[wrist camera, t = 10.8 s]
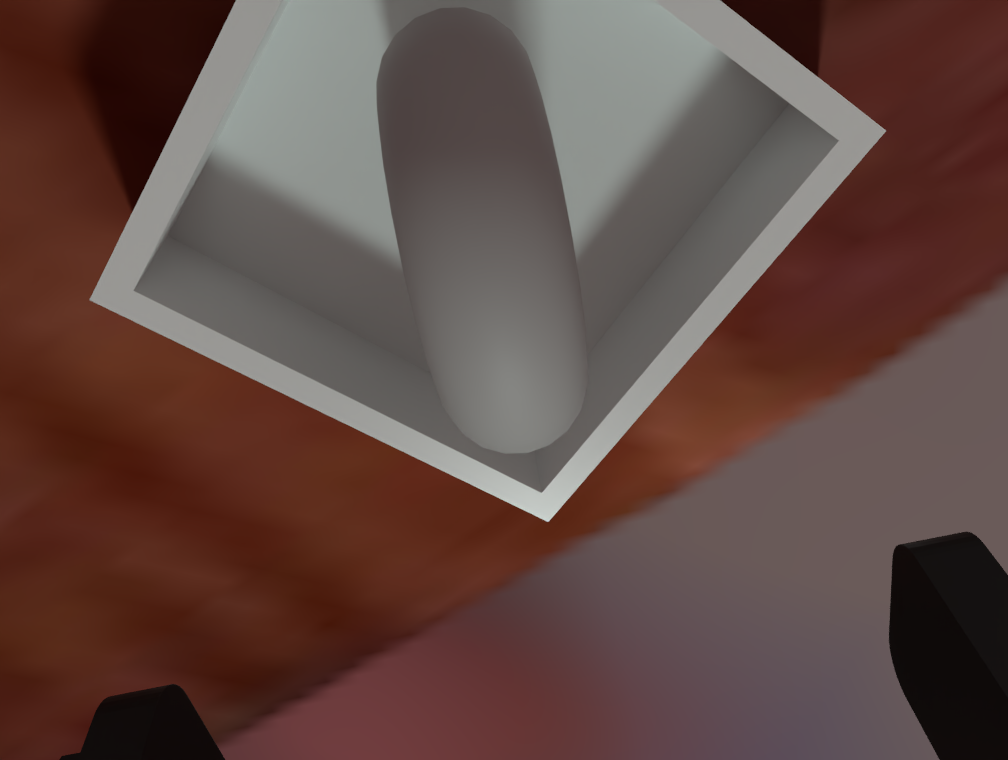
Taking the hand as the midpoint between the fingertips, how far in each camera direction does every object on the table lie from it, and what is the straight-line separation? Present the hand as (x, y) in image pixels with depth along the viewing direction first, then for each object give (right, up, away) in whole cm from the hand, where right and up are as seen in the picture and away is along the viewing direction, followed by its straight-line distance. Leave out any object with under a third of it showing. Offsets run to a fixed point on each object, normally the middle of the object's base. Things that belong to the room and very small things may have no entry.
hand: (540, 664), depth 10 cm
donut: (-1, +9, +15) cm, 18 cm away
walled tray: (-1, +9, +16) cm, 18 cm away
